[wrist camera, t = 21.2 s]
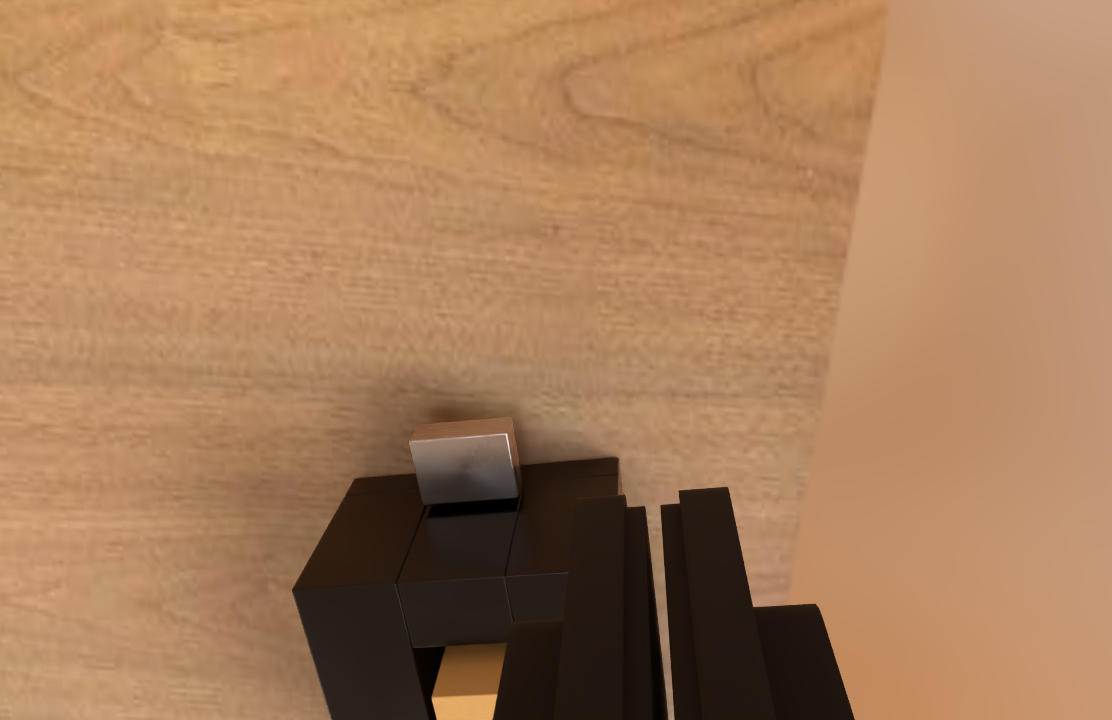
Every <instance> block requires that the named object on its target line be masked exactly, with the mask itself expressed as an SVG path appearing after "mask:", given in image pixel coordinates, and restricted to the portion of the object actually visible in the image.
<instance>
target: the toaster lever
mask: <svg viewBox="0 0 1112 720" xmlns="http://www.w3.org/2000/svg"><path fill="white" fill-rule="evenodd" d="M409 445H410V450H411V454H412V459H413V463H414V468H415V472H416V477H417V481H418V485H419V490H420V494H421V499H422V503H423V505H432V504H446V503H459V502H472V501H485V500H499V499H512V498H518V496H519V491H520V487H521V482H522V475H521V469H520V463H519V457H518V452H517V446H516V440H515V434H514V428H513V422H512V418H511V417H500V418H489V419H477V420H466V421H454V422H443V423H432V424H420V425H417V426H416V428H415V430H414V432H413V434H412V436H411V438H410V440H409Z"/></svg>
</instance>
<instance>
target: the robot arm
mask: <svg viewBox="0 0 1112 720" xmlns="http://www.w3.org/2000/svg"><path fill="white" fill-rule="evenodd" d="M679 500H680V504H668V505H661V521H662V536H663V551H664V566H665V581H666V596H667V612H668V627H669V642H670V657H671V672H672V687H673V702H674V717H675V720H855V719H854V716H853V713H852V709H851V706H850V703H849V700H848V697H847V694H846V691H845V688H844V684H843V681H842V678H841V675H840V671H839V668H838V665H837V662H836V659H835V656H834V653H833V649H832V646H831V643H830V640H829V637H828V633H827V630H826V627H825V624H824V621H823V618H822V615H821V612H820V610H819V608H818V606H817V605H816V604H803V605H786V606H769V607H753V604H752V600H751V595H750V590H749V585H748V580H747V575H746V571H745V566H744V561H743V556H742V551H741V546H740V542H739V537H738V532H737V527H736V522H735V517H734V513H733V508H732V503H731V498H730V493H729V489H728V487H720V488H706V489H693V490H679ZM493 720H668V711H667V700H666V690H665V680H664V671H663V662H662V653H661V644H660V635H659V626H658V617H657V608H656V599H655V590H654V580H653V571H652V562H651V553H650V544H649V535H648V526H647V517H646V509H645V506H640V507H627V503H626V497H625V495H613V496H599V497H586V498H577V499H576V503H575V512H574V522H573V532H572V542H571V552H570V561H569V571H568V581H567V591H566V601H565V611H564V618H562V619H545V620H527V621H514V622H513V624H512V625H511V627H510V631H509V635H508V640H507V645H506V650H505V656H504V661H503V666H502V672H501V677H500V683H499V688H498V693H497V699H496V704H495V709H494V715H493Z"/></svg>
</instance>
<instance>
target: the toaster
mask: <svg viewBox="0 0 1112 720" xmlns="http://www.w3.org/2000/svg"><path fill="white" fill-rule="evenodd" d="M520 469H521V475H522V482H521V487H520V491H519V496H518V498H512V499H499V500H485V501H472V502H459V503H446V504H432V505H423V503H422V499H421V494H420V490H419V485H418V481H417V477H416V474H408V475H396V476H383V477H371V478H358V479H354V481H353V483H352V484H351V486H350V488H349V490H348V491H347V493H346V495H345V497H344V499H343V500H342V502H341V504H340V506H339V507H338V509H337V511H336V513H335V514H334V516H333V518H332V520H331V522H330V523H329V525H328V527H327V529H326V530H325V532H324V534H323V536H322V537H321V539H320V541H319V543H318V545H317V546H316V548H315V550H314V552H313V553H312V555H311V557H310V559H309V561H308V562H307V564H306V566H305V568H304V569H303V571H302V573H301V575H300V576H299V578H298V580H297V582H296V584H295V585H294V587H293V589H292V592H293V596H294V599H295V602H296V605H297V609H298V612H299V615H300V619H301V622H302V625H303V629H304V632H305V635H306V638H307V642H308V645H309V648H310V652H311V655H312V658H313V661H314V665H315V668H316V671H317V675H318V678H319V681H320V685H321V688H322V691H323V694H324V698H325V701H326V704H327V708H328V711H329V714H330V717H331V720H437V718H436V714H435V710H434V706H433V702H432V694H433V691H434V687H435V683H436V680H437V676H438V673H439V669H440V665H441V662H442V658H443V655H444V651H445V648H446V646H458V645H476V644H494V643H507V640H508V635H509V631H510V627H511V625H512V624H513V622H514V621H527V620H545V619H562V618H564V611H565V601H566V591H567V581H568V571H569V561H570V552H571V542H572V532H573V522H574V512H575V503H576V499H577V498H586V497H599V496H613V495H623V489H622V481H621V473H620V465H619V459H618V458H608V459H595V460H583V461H570V462H558V463H545V464H533V465H520Z"/></svg>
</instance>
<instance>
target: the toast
mask: <svg viewBox="0 0 1112 720" xmlns="http://www.w3.org/2000/svg"><path fill="white" fill-rule="evenodd" d="M506 645H507V643H494V644H476V645H458V646H446V648H445V651H444V655H443V658H442V662H441V665H440V669H439V673H438V676H437V680H436V683H435V687H434V691H433V694H432V702H433V706H434V710H435V714H436V718H437V720H493V715H494V709H495V704H496V699H497V693H498V688H499V683H500V677H501V672H502V666H503V661H504V656H505V650H506Z"/></svg>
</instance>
